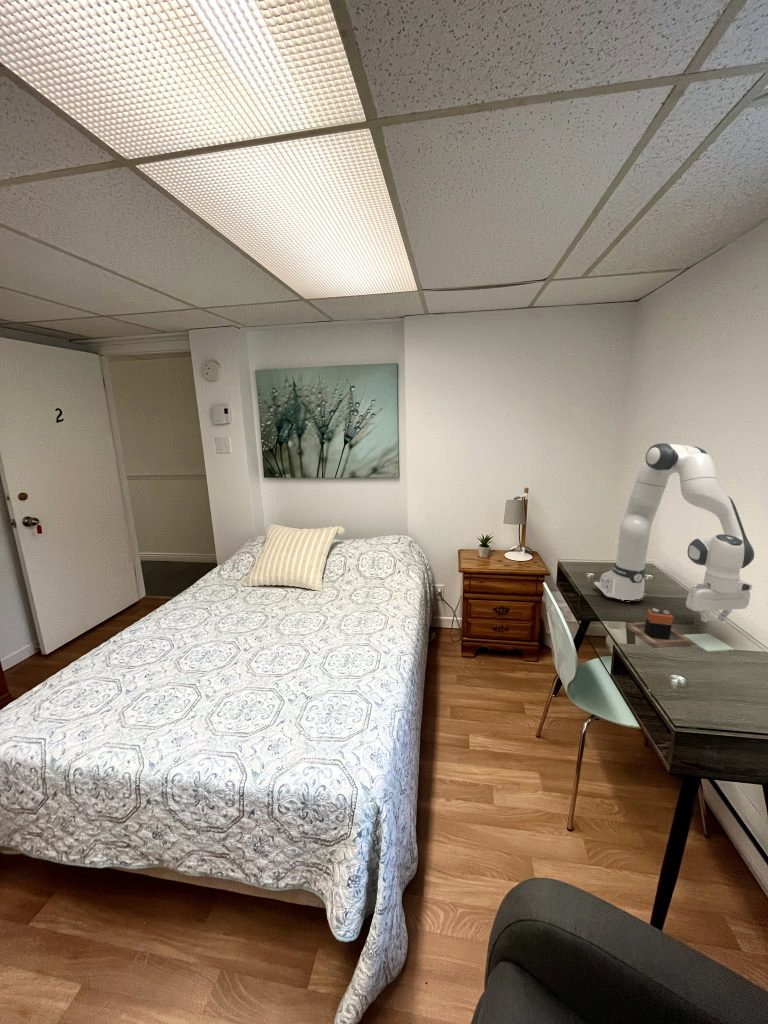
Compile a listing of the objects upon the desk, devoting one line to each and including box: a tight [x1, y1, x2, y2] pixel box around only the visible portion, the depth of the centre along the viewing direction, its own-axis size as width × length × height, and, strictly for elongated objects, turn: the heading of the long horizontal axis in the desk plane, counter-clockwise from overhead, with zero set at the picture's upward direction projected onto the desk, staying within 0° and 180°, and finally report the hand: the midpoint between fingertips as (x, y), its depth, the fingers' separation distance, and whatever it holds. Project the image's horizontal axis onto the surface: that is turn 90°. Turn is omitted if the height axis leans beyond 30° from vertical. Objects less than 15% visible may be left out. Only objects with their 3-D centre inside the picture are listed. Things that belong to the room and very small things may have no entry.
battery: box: [643, 608, 674, 640], centre depth 141 cm, size 4×7×10 cm, turn 76°
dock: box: [625, 621, 693, 648], centre depth 142 cm, size 14×14×2 cm
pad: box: [682, 633, 735, 653], centre depth 137 cm, size 10×10×1 cm
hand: (713, 620), depth 135 cm, fingers open, 5 cm apart
